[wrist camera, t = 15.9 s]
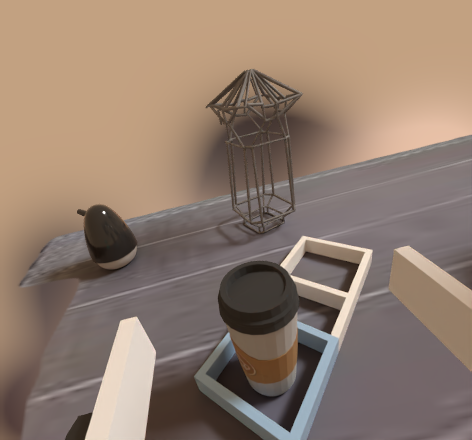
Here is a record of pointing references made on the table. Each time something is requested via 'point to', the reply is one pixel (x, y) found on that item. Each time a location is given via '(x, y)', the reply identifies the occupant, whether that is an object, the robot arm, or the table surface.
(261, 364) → the coffee cup
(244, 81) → the geometric lantern
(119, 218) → the pump dispenser
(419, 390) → the table surface
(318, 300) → the gap frame
